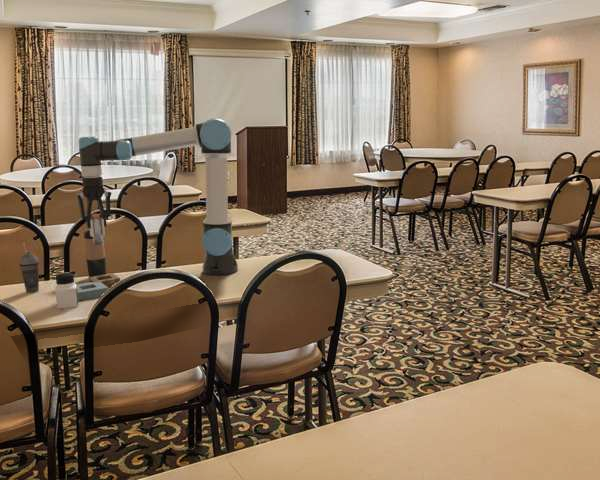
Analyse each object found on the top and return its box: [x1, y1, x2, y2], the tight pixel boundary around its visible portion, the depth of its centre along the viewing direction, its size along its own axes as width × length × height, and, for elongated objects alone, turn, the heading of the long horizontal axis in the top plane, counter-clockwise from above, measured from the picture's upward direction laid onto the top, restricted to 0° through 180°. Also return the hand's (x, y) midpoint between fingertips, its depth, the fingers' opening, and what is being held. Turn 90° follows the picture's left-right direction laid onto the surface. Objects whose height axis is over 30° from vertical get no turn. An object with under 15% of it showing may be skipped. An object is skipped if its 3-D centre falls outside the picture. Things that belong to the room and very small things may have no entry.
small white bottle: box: [90, 213, 104, 245], centre depth 249 cm, size 4×4×12 cm
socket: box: [76, 281, 109, 302], centre depth 241 cm, size 12×12×3 cm
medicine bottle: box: [54, 271, 79, 310], centre depth 227 cm, size 7×7×12 cm
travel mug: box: [83, 230, 107, 277], centre depth 265 cm, size 8×8×20 cm
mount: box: [88, 273, 121, 288], centre depth 254 cm, size 10×10×3 cm
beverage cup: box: [18, 241, 40, 294], centre depth 246 cm, size 7×7×20 cm
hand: (97, 235), depth 249 cm, fingers closed on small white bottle, 3 cm apart
